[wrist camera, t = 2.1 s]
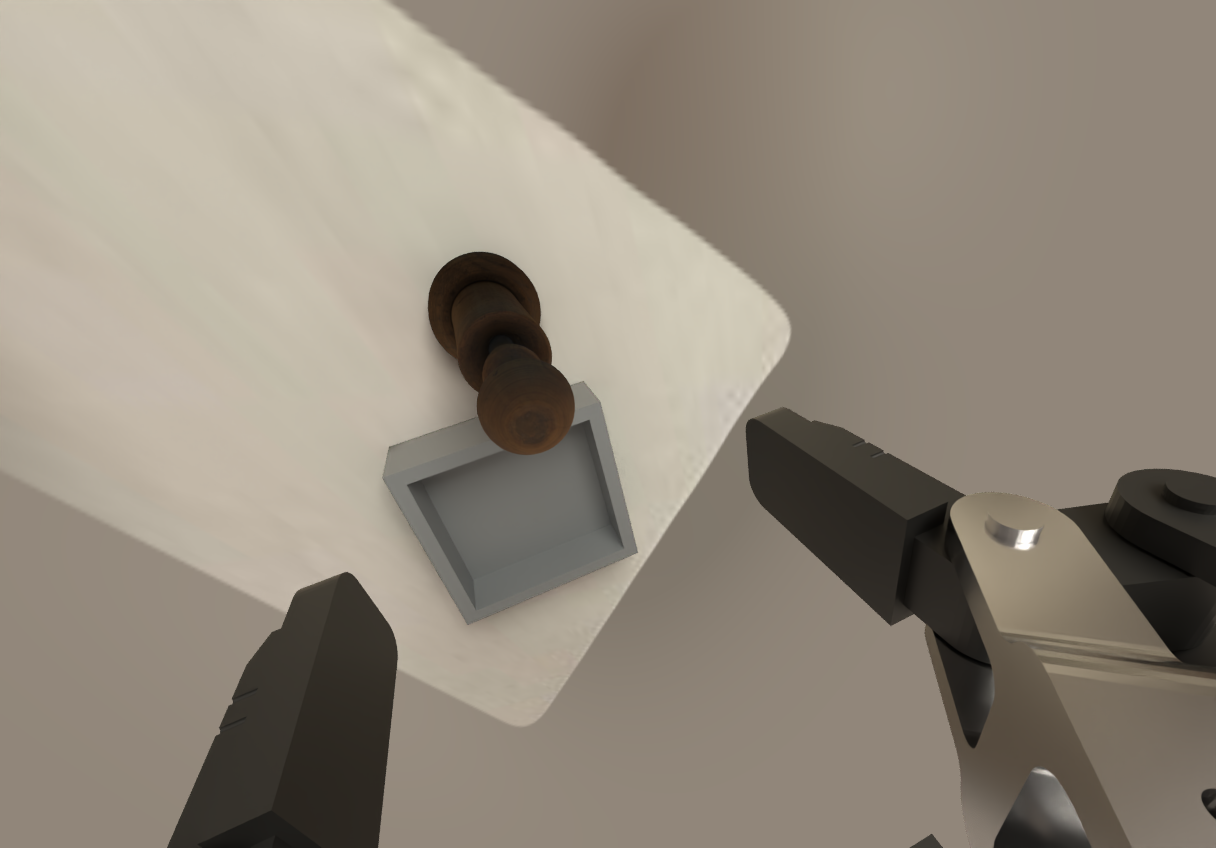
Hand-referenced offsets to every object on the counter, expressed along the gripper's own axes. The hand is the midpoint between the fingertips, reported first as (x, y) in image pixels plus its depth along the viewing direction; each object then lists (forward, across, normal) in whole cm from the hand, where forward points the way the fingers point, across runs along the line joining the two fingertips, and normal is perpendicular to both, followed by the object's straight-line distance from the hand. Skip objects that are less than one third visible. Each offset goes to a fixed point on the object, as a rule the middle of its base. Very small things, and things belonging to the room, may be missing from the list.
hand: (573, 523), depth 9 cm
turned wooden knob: (+23, 0, 0) cm, 23 cm away
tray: (+23, +2, +14) cm, 27 cm away
